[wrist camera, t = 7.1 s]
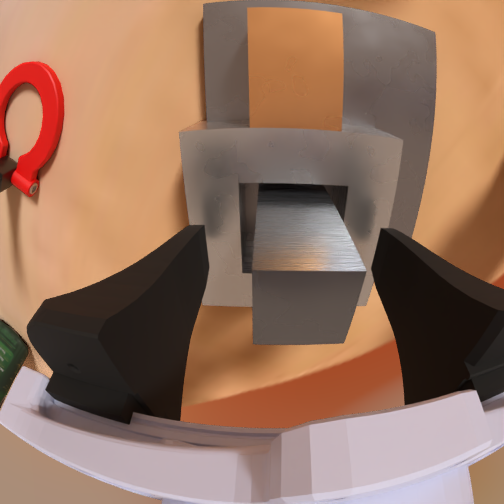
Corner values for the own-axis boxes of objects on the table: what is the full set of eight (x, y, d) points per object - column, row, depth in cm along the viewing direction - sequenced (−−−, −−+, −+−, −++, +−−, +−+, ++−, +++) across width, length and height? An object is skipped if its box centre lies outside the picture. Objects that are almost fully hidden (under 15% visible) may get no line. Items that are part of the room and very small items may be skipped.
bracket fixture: (426, 34, 9) (467, 27, 6) (393, 269, 18) (414, 308, 14) (197, 10, 9) (174, -14, 6) (214, 268, 18) (203, 311, 15)
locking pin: (318, 175, 13) (366, 271, 7) (313, 227, 15) (343, 343, 8) (259, 174, 14) (251, 270, 7) (259, 226, 15) (252, 344, 9)
